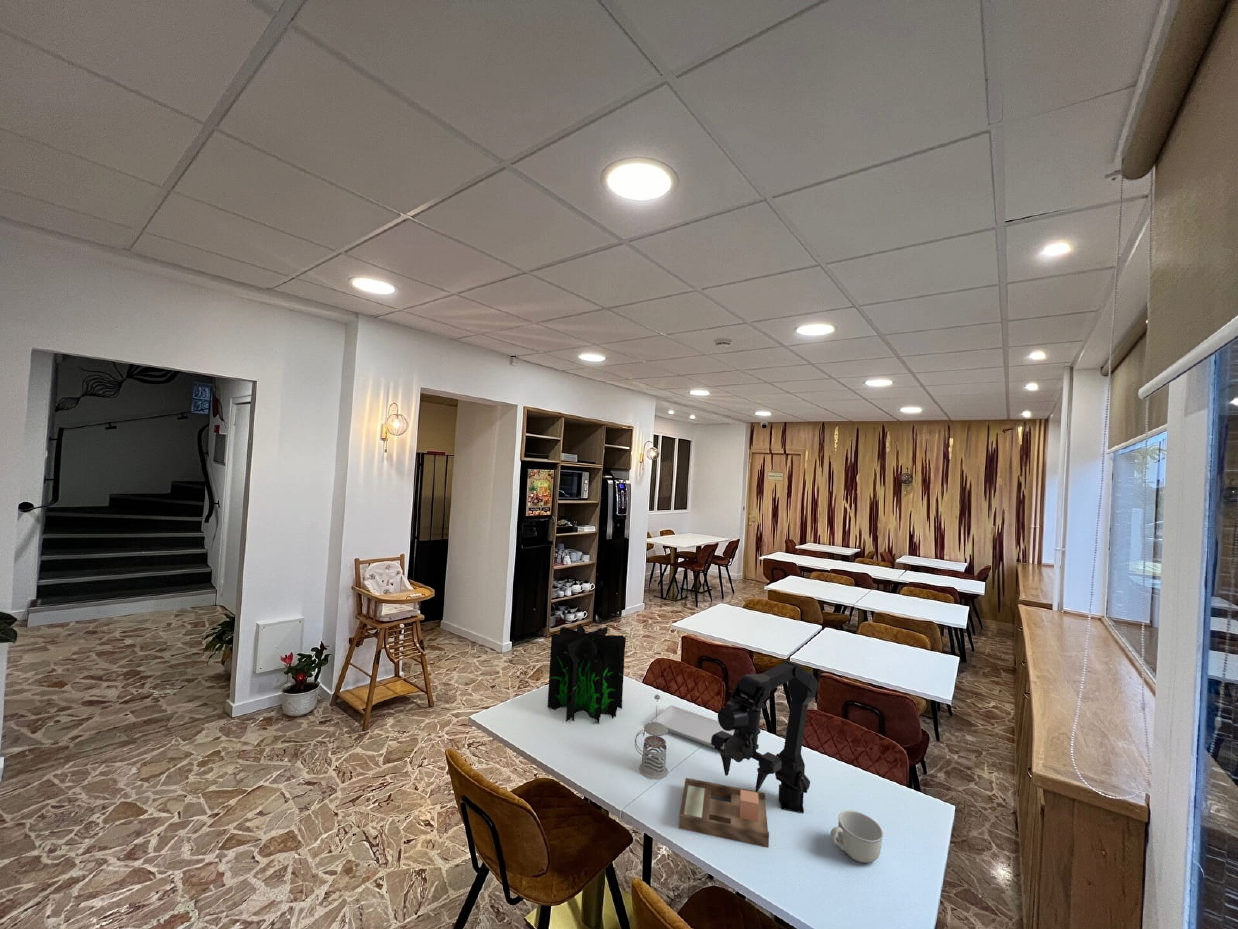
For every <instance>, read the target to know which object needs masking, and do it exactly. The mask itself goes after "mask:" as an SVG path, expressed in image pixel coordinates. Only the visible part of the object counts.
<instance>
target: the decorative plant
mask: <svg viewBox="0 0 1238 929" xmlns="http://www.w3.org/2000/svg"><path fill="white" fill-rule="evenodd" d="M576 626H577V627H576V630H575V629H573V628H569V627H566V626H560V627H559V633H553V634H552V633H551V638H550V640H551V641H550V655H549V670H548V671H549V674H548V688H547V689H548V691H547V708H549V709H551V710H553V711H556V710H558V709H561V708H565V709H566V711H565V723H567V722H569V721H570V720H572V721H575V715H576V714H577V713H578V712H584V713H585V714H587V715H588V717H589V718H590V719H593V720H596V721H595V722H594V724H596V723H598V724H600V722H601V721H600V718H601V715H608V716H611V719H612V720H613V719H614V718H616V717H617V711H618V709H621V710H622V709H623V694H624V692H623V690H624V673H625V671H624V670H625V655H626V654H625V653H626V651H625V650H626V644H627V643H626V641H627V638H626V636H624V635H618V634H617V635H616V634H615V635H614V634H611V635H610V634H608V626H604V627H603V628H602V627H600V628H597V629H596V630H592V631H588V632H586V629H585V628H584V626H583V625H582V624H581V623H580V624H578V623H577V624H576ZM607 634H608V635H607Z"/></svg>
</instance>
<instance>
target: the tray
mask: <svg viewBox="0 0 1238 929" xmlns="http://www.w3.org/2000/svg"><path fill="white" fill-rule="evenodd" d="M651 722H659V723H661V724H663V725H664V726H666V727H667V728H668V732H670V733H673V734H676V735H678V736H681V737H684V738H686V739H689V740H692V741H694V742H697V743H700V744H701V745H705V746H708V747H710V748H713V749H715V746H713V745H711V738H712V736H713V735H714V734H715V733H718V732H720V731H724V732H726V733H729V734H731V735H732V736H733V734H734V730H731V731H726V730H724V729H723V728H722V727H721V726H720V724H719V721H718V720H716V719H713V718H710V717H707V716H704V715H701V714H698V713H697V712H696V713H695V712H694V711H689V710H687V709H684V708H680V707H678V706H674V705H669V706H668V707H666V709H665V710H663V711H662V712H661V713H659V714H657V720H656V717H655V718H654V719H652V721H651Z"/></svg>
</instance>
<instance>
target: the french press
mask: <svg viewBox="0 0 1238 929" xmlns="http://www.w3.org/2000/svg"><path fill="white" fill-rule="evenodd" d="M660 699H661V696H660V695H659V694H655V695H654V700H656V701H658V700H660ZM655 708H656V709H655V710H656V712H655V718H656V720H657V716H658V714H657V713H658V706H656V707H655ZM668 732H669V731H668V728H667V727H666V726H664V725H663V724H661V723H659V722H652V721H651V722H649V723H646V724H645V725H644V726H643V729H641V730H639V731H638V732H637V734H636V735H635V739H634V748H635V751H636V752H638V754H639V755H641V765H640V766H639V767H638V771H639V773H640V774H641V775H642V776H643V777H644V778H646V779H648V780H654V781H655V780H656V781H657V780H663V779H664V778H666V777H668V775H669V769H668V768H667V767H666V762H667V745H666V744H667V741H666V740H665V738H664V737H663V736H665V735H667V734H668ZM645 733H646V734H648V736H646V737H645V735H646V734H645ZM641 734H642V737H645V738H644V742H643V746H642V747H643V748H642V750H641V749H640V748H639V746H638V743H637V738H638V736H640V735H641ZM641 752H642V753H641Z"/></svg>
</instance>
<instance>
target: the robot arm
mask: <svg viewBox="0 0 1238 929" xmlns="http://www.w3.org/2000/svg"><path fill="white" fill-rule="evenodd" d="M786 683H787V692H788V694H789V698H790V707H789V713H788V719H787V724H786V725H787V726H786V730H785V732H786V733H785V740H784V744H783V748H782V750H781V751H780V752H779V753H776V754H773V753H771V752H769V751H767V752H765V753H763V754H762V753H760V752H758V749H759V748H760V747H759V746H760V744H758V738H759V735H760V734H761V729H760V723H761V715H762V709H766V707H767V706H766V704H765V703H764V702H765V701H766V700H767V699H768V698H770V696H771V694H770V693H771V692H772V690H775V689H776V688H778V687H780V686H782V685H784V684H786ZM818 688H819V683H818V680H817V678H816V676H814V675H812V674H811V673H809V672H808V671H806V670H805V669H804V668H803V667H802V666H801V665H800V664H799V663H796V662H794V661H793V662H792V661H790V660H782V662H781V663H780V664H778V665H776V666H774V667H772V668H770V669H768V670H766V671H764V672H762V673H749V674H744V675H743V676H741V677H740V679H739V680H738V682H737V684H736V685H735V687H734V689H733V691H732V693H731V695H730V697H729V700H730V701H727V702H725V706H723V707H720V709H719V710H718V712H717V721H719V724H720V726H721V727H722V728H723V729H724V730H726V731H731V730H734V734H733V736H732V735H731V734H729V733H726V732H724V731H720V732H718V733H715V734H714V735H713V736H712V738H711V745H713V746H715V748H714V749H715V750H716V751H717V752H718V753H719V754H720V757H721V761H722V766H723V771H724V776H725V777H726V776H728V775H729V773H730V769H731V763H732V762H731V761H732V760H734V761H735V762H736V763H741V762H743V761H744V760H747V761H750V759H753V760H755V761H756V762H757V761H758V764H757V765H758V767H757V768H756V771H757V777H756V783H755V791H756V792H760V789H761V787H762V785H763V784H764V782H765V780H766V778H767V777H768V775H773V774H774V776H775V779H776V780H777V781H779V782H780V783H779V784H778V795H777V796H778V802H779V803H780V808H781V810H787V811H791V812H797V813H802V814H803V813H805V809H804V796H805V795H804V794H807V793H808V791H809V788H810V786H811V780H810V779H809V778H808V777H807V775H806V774H805V771H806V769H805V768H806V765H805V762H804V759H803V756H802V747H803V740H804V735H805V734H804V733H805V729H806V728H805V727H806V723H807V722H806V720H807V714H808V708H809V704H810V703H811V702H812V701H813V700H815V697H816V695H817V694H816V693H817V691H818Z"/></svg>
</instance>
